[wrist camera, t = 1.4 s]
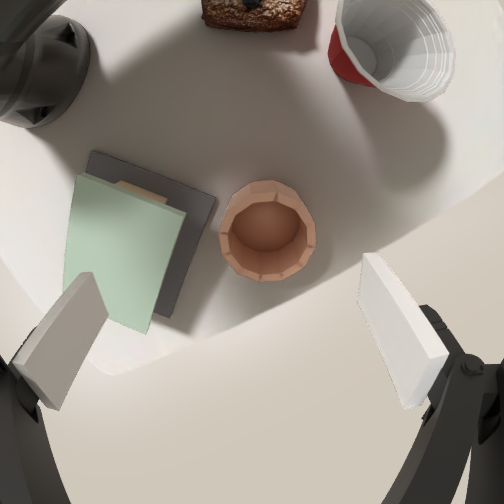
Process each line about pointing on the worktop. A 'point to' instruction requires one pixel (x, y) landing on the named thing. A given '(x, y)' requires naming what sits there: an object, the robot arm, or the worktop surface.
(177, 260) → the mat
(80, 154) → the worktop surface
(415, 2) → the plastic cup
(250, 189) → the bowl
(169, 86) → the worktop surface
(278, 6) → the pastry
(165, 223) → the sheet
